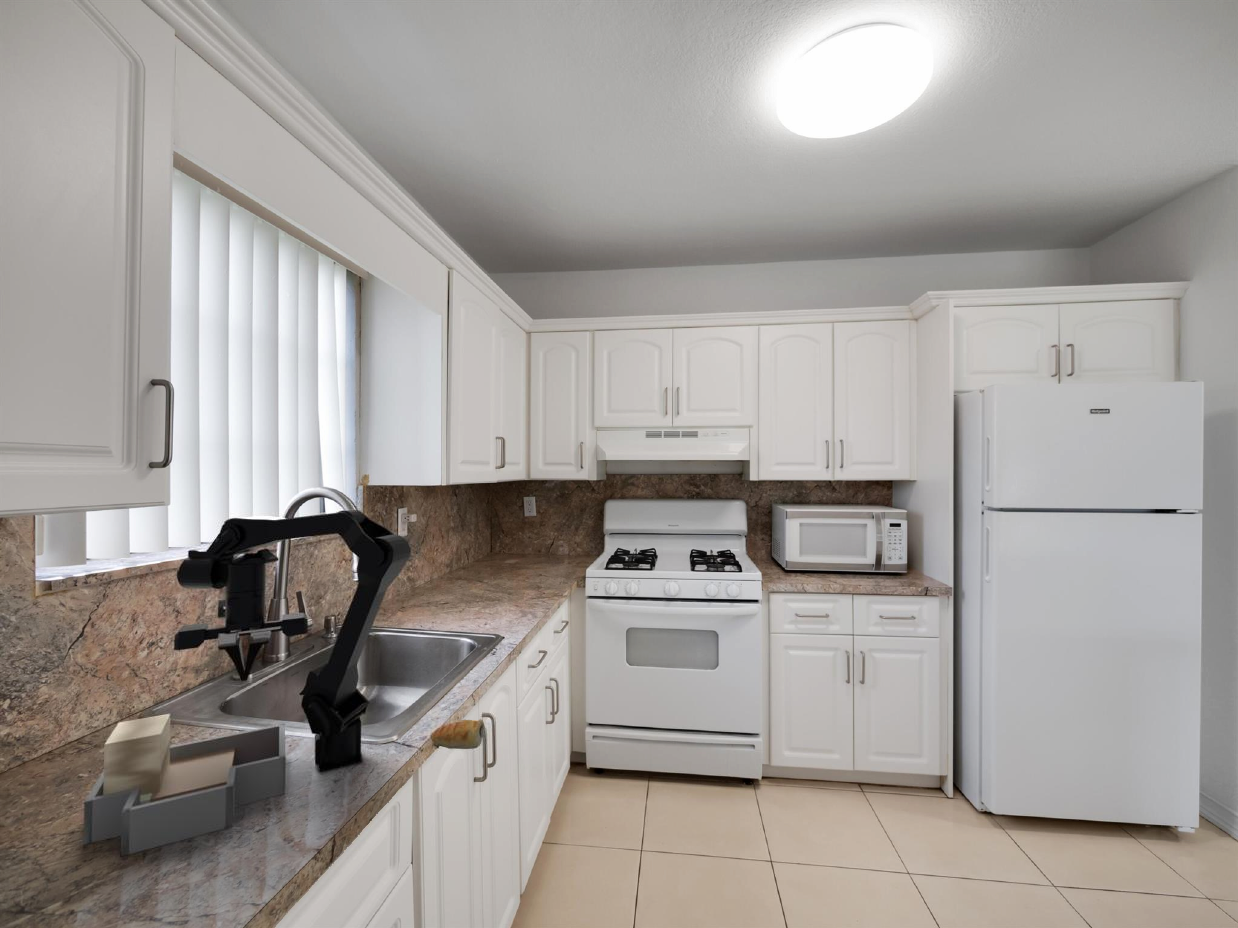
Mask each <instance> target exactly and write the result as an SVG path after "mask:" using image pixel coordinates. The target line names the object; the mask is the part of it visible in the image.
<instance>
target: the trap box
mask: <svg viewBox="0 0 1238 928" xmlns="http://www.w3.org/2000/svg"><path fill="white" fill-rule="evenodd" d="M103 787H104V770H103V771H102V772H101V774H100V776H99V778H98V779H97V780H96V783H95V784H94V786H93V787H92V788H91V790H90V792H89V794H88V796H87V797H86V798H85V801H84V802H83V803H84V805H83V807H84V808H83V846H85V845H89V844H92V843H97V842H100V841H101V842H102V841H105V840H108V839H112V838H117V837H120V857H124V856H127V855H132V854H134V853H135V854H136V853H139V852H143V851H146V850H150V849H153V848H157V847H161V846H165V845H169V844H172V843H175V842H180V841H183V840H187V839H191V838H195V837H198V836H201V835H206V834H209V833H213V832H217V831H221V830H224V829H228V828H231V827H233V824H234V818H235V811H236V807H237V806H241V805H242V806H243V805H246V804H250V803H253V802H257V801H261V800H266V799H270V798H274V797H277V796H281V795H285V794H286V724H285V722H284V723H279V724H276V725H270V726H269V725H268V726H264V727H260V728H255V729H249V730H244V731H239V732H234V733H230V734H224V735H219V736H214V737H209V738H208V737H207V738H204V739H199V740H195V741H190V742H189V741H188V742H184V743H183V742H182V743H179V744H175V745H173V744H172V745H170V764H169V769H168V771H167V774H166V776H165V779H164V781H163V784H162V787H161V789H160V791H158V792H153V793H149V794H145V795H140V791H141V787H138V788H134V789H129V790H125V791H120V792H116V793H111V794H107V795H103Z"/></svg>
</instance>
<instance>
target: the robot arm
mask: <svg viewBox="0 0 1238 928" xmlns="http://www.w3.org/2000/svg"><path fill="white" fill-rule="evenodd" d="M335 534H336V535H337V534H338V535H339V536H340V537H341V539H343V541H344V543H345V545H346V546H347V548H348V549H349V550H350V552H352V553H353V554H354V555H355V556H356V557H357V558H358V560H357V561H358V562H357V566H356V575H357V587H356V589H355V592H354V594H353V597H352V600H351V602H350V604H349V607H348V610H347V612H346V613H345V617H344V619H343V622H342V624H341V626H340V628H339V629H340V630H339V632H338V635H337V637H336V640H335V641H334V644H333V647H332V649H331V653H330V655H329V657H328V660H327V661H326V662H325V663H323V664H321V665H319V666H318V667H315V668H314V669H312V670H310V671H309V672H308V674H307V677H306V682H305V685H304V687H303V689H302V690H301V691H300V693H299V696H302V697H301V700H300V701H301V702H300V708H301V709H302V710H303V712H304V713H303V714H305V717H306V720H307V723H308V726H309V729H310V731H311V734H313V735H314V751H313V752H314V757H313V758H314V765H315V766H317V767H318V773H325V772H329V771H332V770H333V771H334V770H337V769H341V768H345V767H350V766H354V765H358V764H361V763H363V760H364V758H363V754H362V719H361V717H362V716H363V715H365V714H366V713H367V711H368V709H369V705H370V701H369V700H368V699H367V698H366V697H365V696H364V694H363V693H362V692H361V691H360V690H359V689H358V688H357V687H358V683H359V682H358V681H359V671H358V665H359V660H360V658H361V655H362V653H363V651H364V648H365V645H366V642H367V640H368V638H369V635H370V633H371V630H372V627H373V624H374V622H375V620H376V617H377V615H378V613H379V610H380V607H381V605H382V603H383V599H384V597H385V594H386V592H387V590H388V588H389V587H390V586H391V585H392V583H393V582H394V581H395V580H396V579H397V578H398V576H399V575H400V574H401V572H402V571H403V569H404V567H405V566H406V565H407V562H408V560H409V559H410V557H411V553H412V548H411V546H410V544H409V542H408V541H407V539H406V538H405V537H404V536H402V535H401V534H400V535H399V534H396V533H395V534H394V533H393V532H392V531H391V530H390V529H388V528H387V527H385V526H383V525H382V524H380V523H378V522H376V521H375V520H373V519H371V518H370V517H369V516H367V514H365V513H364V512H362V511H361V510H358V509H343V510H339V511H336V512H332V513H323V514H322V513H321V514H314V515H307V516H298V517H297V516H296V517H295V516H294V517H289V518H288V517H287V518H286V517H285V518H284V517H279V516H271V515H270V516H269V515H267V516H266V515H253V516H242V517H241V516H240V517H231V518H228V519H226V520H225V521H224V523H223V524H222V525H221V528H220V530H219V533H218V535H217V536H216V537H215V538H214V540H212V543H210V545H209V547H208V548H207V549H205V548H194V549H189V550H188V551H187V557H186V558H185V559H184V560H183V561H182V562H181V564H180V566H179V568H178V570H177V571H176V578H177V582H178V584H179V585H180V586H181V587H182V588H183V589H190V590H191V589H196V590H197V589H198V590H200V589H201V590H202V589H203V590H205V589H206V590H221V589H224V588H225V599H220V600H219V599H218V605H217V618H218V620H224V626H219V627H209V623H208V622H205V623H197V624H185V625H182V626H181V627H179V629H178V630H177V632H176V633H175V635H174V643H173V650H174V651H182V650H189V649H198V648H199V647H201V646H202V645H203V643H205V641H210V640H217V642H218V645H217V650H218V651H222V650H224V651H225V652H226V653H227V655H228V657H229V658H230V660H231V661H232V663H233V665H234V667H235V669H236V672H237V674H238V676H239V679H240V681H241V682H247V681H248V679H249V676H250V674H251V672H252V668H253V665H254V664H255V663H254V662H255V660H256V658H257V656H258V655H259V653H260V651H261V649H262V647H263V646H264V645H268V644H270V642H271V635H272V633H275V632H281V633H282V634H283V635H285V636H286V637H291V636H292V637H293V636H300V635H307V634H308V633H309V632H308V631H309V630H308V628H309V624H308V622H309V620H308V615H307V614H306V613H304V612H296V613H289V614H282V615H281V620H271V621H266V620H267V619H266V618H267V616H266V615H267V614H266V613H267V611H266V610H267V607H266V578H267V577H266V575H267V574H266V573H267V572H266V571H267V567H266V566H267V564H271V563H276V562H278V561H279V557H278V556H276V555H275V554H274V553H272V552H271V551H270V549H269V548H265V547H268V546H271V545H275V544H277V543H280V542H283V541H286V540H291V539H302V538H308V537H310V538H311V537H318V536H327V535H328V536H329V535H335ZM260 548H263V549H260ZM254 549H259V550H258V551H257V552H254V553H253V552H252V551H253V550H254ZM234 555H235V556H236V555H237V556H236V557H235V556H234ZM243 636H250V639H249V645H248V651H247V655H246V663H245V662H244V655H243V654H244V653H243V648H242V647H243V646H242V637H243Z"/></svg>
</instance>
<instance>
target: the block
mask: <svg viewBox="0 0 1238 928" xmlns="http://www.w3.org/2000/svg"><path fill="white" fill-rule="evenodd" d="M170 746H171V713H166V714H161V715H160V714H159V715H155V716H149V717H142V718H137V719H132V720H126V721H121V722H120V721H119V722H118V723H117V725H116V727H115V728H114V730H113V731H112V732H111V734H110V735H109V736H108V738H107V740H106V742H105V743H104V745H103V747H104V748H103V749H104V750H103V751H104V752H103V754H104V755H103V771H104V787H103V795H107V794H111V793H116V792H120V791H125V790H129V789H134V788H138V787H141V791H140V795H145V794H149V793H153V792H158V791H160V789H161V787H162V784H163V781H164V779H165V776H166V774H167V771H168V769H169V764H170Z"/></svg>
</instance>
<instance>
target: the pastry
mask: <svg viewBox="0 0 1238 928" xmlns="http://www.w3.org/2000/svg"><path fill="white" fill-rule="evenodd" d="M429 736H430V741H431V742H432V744H433V745H434V746H437V747H443V748H445V749H448V750H449V749H450V750H452V749H454V750H456V749H457V750H458V749H459V750H472V749H473V750H474V749H477V748H478V747H480V746H481V744H482V741H483V738H485V736H486V727H485V722H484V720H482V719H481V718H479V719H478V720H472V719H461V720H460V721H455V722H452V723H447V724H446V725H442V726H440V727H437V728H436V729H434V731H433V732H432V733H430V735H429Z"/></svg>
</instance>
